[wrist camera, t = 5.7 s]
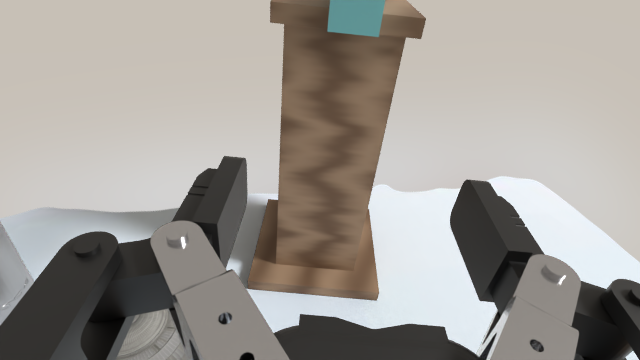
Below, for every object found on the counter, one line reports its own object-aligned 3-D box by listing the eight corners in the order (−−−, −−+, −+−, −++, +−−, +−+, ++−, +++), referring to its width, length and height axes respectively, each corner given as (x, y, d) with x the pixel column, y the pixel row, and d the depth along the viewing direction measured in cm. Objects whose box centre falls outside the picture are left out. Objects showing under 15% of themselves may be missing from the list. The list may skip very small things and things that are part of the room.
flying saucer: (151, 455, 30) (138, 428, 26) (8, 392, 32) (-19, 361, 29) (236, 308, 41) (234, 277, 38) (127, 271, 44) (117, 240, 41)
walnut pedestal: (248, 288, 43) (238, 2, 25) (268, 206, 57) (271, -21, 38) (376, 300, 44) (459, 26, 26) (367, 216, 57) (417, -5, 39)
